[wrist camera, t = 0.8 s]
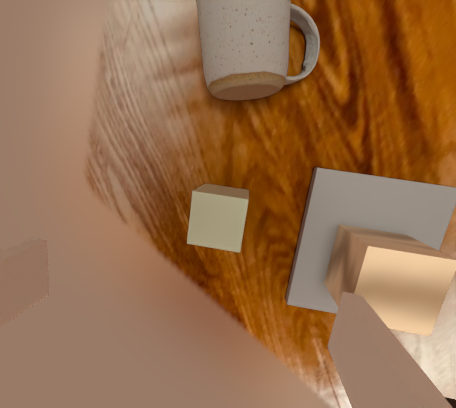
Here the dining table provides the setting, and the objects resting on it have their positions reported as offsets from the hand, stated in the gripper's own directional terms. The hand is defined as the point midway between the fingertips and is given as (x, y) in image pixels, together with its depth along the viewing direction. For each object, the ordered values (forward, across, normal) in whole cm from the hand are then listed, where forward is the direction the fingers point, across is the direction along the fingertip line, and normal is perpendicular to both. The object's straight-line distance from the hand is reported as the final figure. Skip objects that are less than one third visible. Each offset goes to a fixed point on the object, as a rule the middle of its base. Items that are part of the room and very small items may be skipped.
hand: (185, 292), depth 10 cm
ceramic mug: (+17, +1, +16) cm, 23 cm away
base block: (+15, +16, -3) cm, 22 cm away
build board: (+17, +16, -2) cm, 23 cm away
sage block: (+17, 0, 0) cm, 17 cm away
